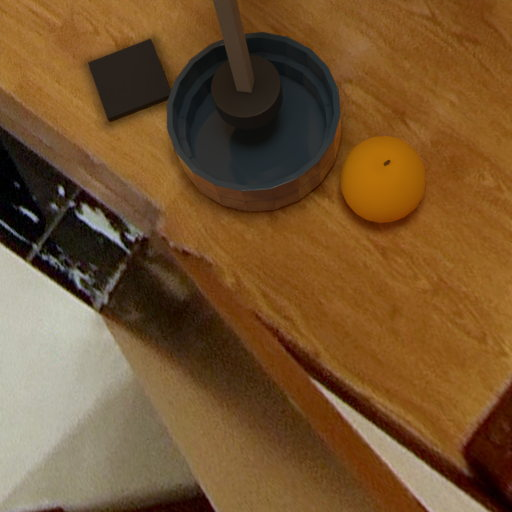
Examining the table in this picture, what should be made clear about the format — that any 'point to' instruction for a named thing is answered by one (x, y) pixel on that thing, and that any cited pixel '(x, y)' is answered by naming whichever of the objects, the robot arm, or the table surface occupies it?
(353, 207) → the orange
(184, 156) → the bowl
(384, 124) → the table surface
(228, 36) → the square post on disc
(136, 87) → the pad
